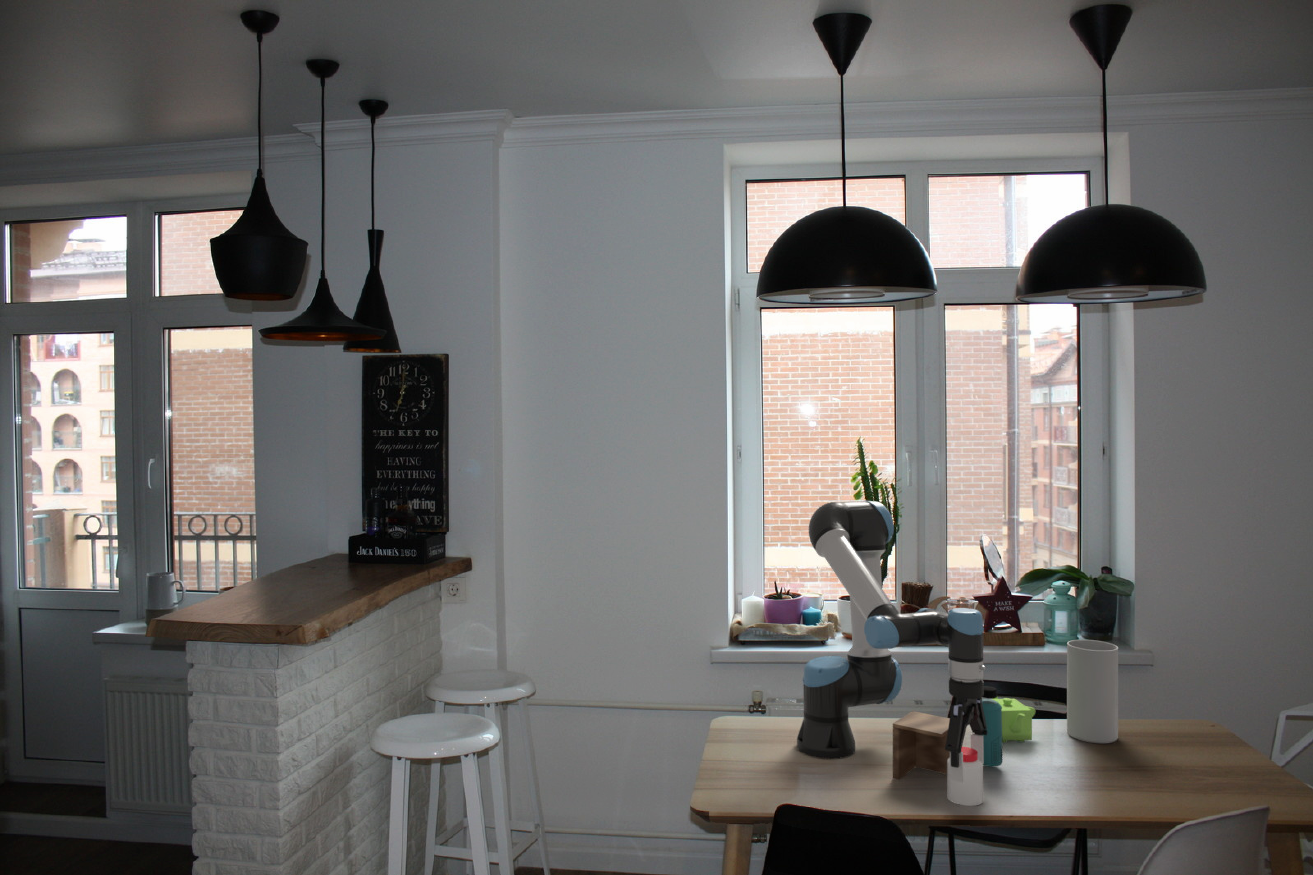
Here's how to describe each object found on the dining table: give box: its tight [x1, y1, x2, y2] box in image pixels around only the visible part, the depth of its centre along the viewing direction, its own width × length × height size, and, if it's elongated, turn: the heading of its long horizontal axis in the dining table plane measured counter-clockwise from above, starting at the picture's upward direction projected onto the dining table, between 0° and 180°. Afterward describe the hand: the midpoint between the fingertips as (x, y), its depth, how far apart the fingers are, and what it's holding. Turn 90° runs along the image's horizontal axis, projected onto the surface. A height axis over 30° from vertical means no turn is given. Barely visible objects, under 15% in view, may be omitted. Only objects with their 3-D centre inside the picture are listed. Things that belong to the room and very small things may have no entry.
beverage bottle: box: [982, 685, 1004, 767], centre depth 220 cm, size 6×7×20 cm
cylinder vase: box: [1066, 639, 1119, 744], centre depth 242 cm, size 12×12×25 cm
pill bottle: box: [946, 746, 984, 807], centre depth 202 cm, size 8×8×11 cm
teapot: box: [990, 696, 1036, 743], centre depth 242 cm, size 15×13×11 cm
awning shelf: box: [892, 710, 954, 781], centre depth 215 cm, size 12×12×13 cm
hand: (967, 771), depth 202 cm, fingers open, 13 cm apart
